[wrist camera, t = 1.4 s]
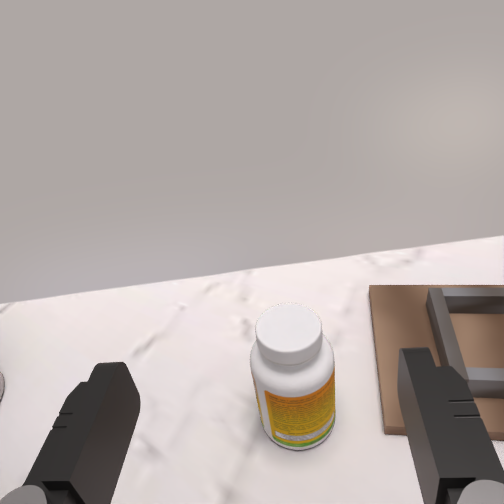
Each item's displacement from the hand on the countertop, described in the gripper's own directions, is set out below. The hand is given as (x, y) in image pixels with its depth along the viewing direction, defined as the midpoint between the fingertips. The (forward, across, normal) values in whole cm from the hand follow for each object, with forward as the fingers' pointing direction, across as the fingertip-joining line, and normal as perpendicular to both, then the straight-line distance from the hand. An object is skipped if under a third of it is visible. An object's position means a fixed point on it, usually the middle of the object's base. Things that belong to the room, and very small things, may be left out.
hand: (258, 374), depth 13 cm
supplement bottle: (+11, 0, +18) cm, 21 cm away
